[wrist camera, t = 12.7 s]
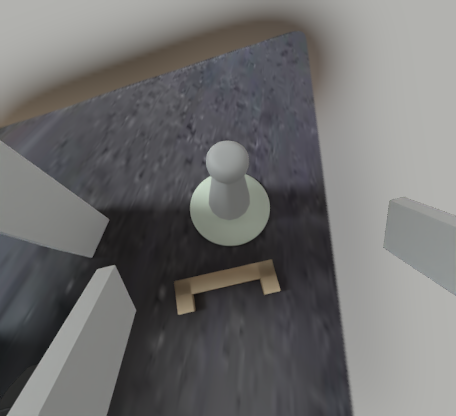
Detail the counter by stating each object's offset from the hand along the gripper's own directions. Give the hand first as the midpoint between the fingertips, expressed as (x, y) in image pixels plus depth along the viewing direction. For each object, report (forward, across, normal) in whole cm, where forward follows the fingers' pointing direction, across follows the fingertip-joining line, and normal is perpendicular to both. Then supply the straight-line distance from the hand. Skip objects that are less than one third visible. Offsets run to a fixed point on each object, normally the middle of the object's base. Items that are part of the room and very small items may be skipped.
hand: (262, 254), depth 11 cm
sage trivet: (+22, +1, -7) cm, 23 cm away
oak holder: (+14, -2, -15) cm, 21 cm away
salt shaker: (+22, +1, -6) cm, 23 cm away
